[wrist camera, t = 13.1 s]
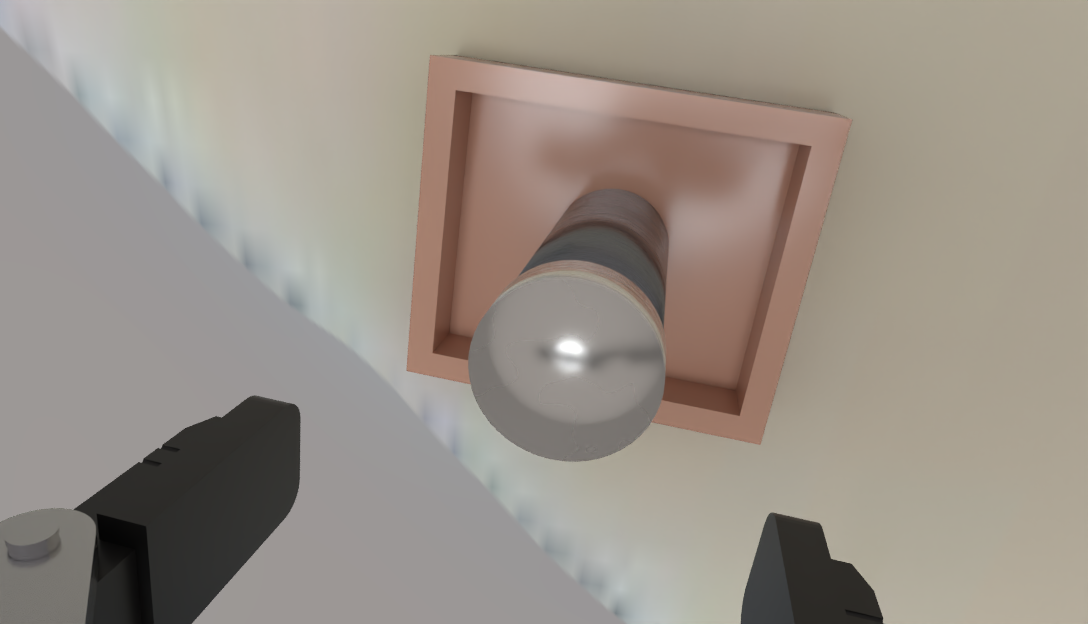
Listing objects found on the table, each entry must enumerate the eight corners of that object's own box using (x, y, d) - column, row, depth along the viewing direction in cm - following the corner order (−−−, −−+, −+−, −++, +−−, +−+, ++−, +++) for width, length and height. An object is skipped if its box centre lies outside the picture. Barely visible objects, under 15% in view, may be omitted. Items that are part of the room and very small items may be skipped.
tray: (833, 112, 25) (852, 119, 23) (752, 408, 30) (760, 444, 27) (455, 55, 27) (430, 55, 24) (430, 342, 31) (406, 370, 29)
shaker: (682, 196, 27) (683, 300, 15) (658, 311, 28) (644, 479, 17) (561, 176, 27) (478, 262, 16) (544, 290, 29) (460, 439, 18)
